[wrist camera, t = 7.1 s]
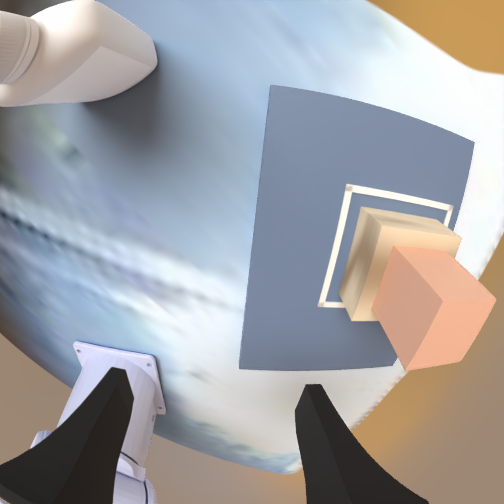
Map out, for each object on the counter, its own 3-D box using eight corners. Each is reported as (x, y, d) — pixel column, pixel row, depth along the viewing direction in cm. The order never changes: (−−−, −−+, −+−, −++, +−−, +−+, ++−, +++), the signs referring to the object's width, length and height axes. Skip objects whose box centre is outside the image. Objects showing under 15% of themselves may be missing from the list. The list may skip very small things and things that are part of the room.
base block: (409, 294, 19) (427, 319, 16) (338, 292, 19) (351, 321, 16) (436, 219, 16) (461, 238, 14) (361, 206, 16) (382, 225, 13)
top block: (422, 307, 16) (460, 361, 11) (371, 307, 16) (404, 370, 11) (445, 251, 14) (496, 299, 10) (393, 245, 14) (443, 300, 9)
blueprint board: (389, 359, 23) (392, 366, 23) (239, 361, 23) (239, 369, 22) (467, 140, 15) (475, 142, 14) (270, 86, 14) (271, 84, 13)
